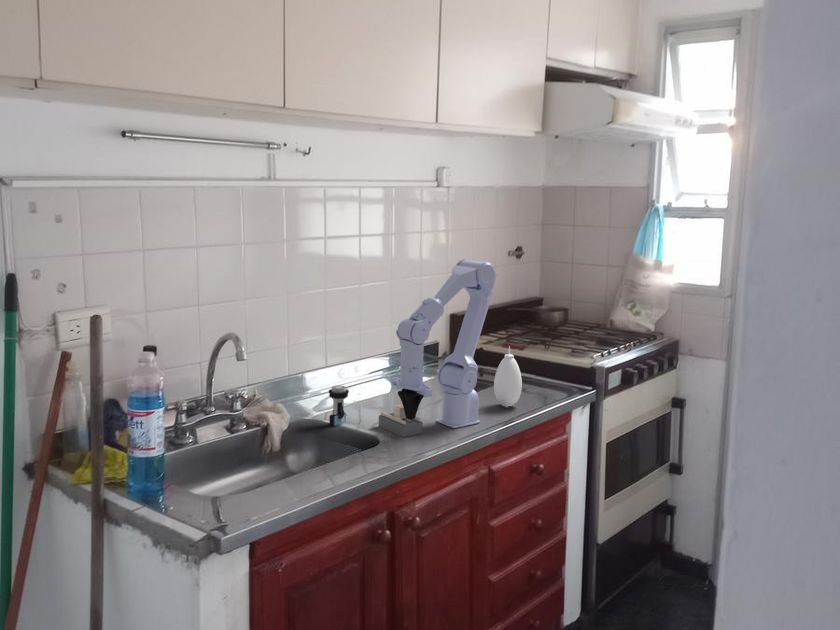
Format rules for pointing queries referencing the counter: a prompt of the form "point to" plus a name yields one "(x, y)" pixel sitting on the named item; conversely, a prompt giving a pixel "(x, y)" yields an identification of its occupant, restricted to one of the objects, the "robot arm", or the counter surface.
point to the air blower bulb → (508, 381)
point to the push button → (338, 405)
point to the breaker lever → (399, 412)
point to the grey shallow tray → (400, 424)
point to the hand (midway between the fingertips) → (410, 418)
